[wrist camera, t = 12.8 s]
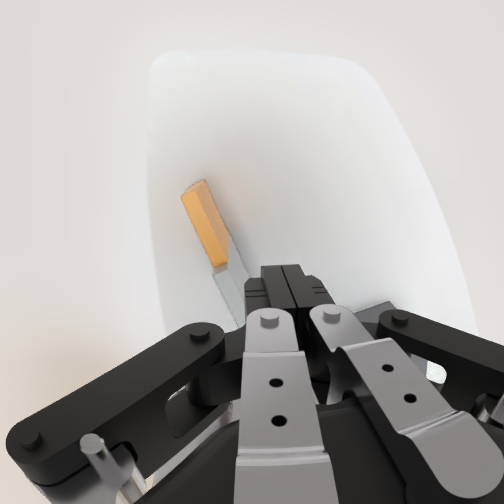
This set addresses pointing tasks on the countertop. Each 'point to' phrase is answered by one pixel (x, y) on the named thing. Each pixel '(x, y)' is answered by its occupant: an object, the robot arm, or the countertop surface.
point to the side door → (218, 247)
